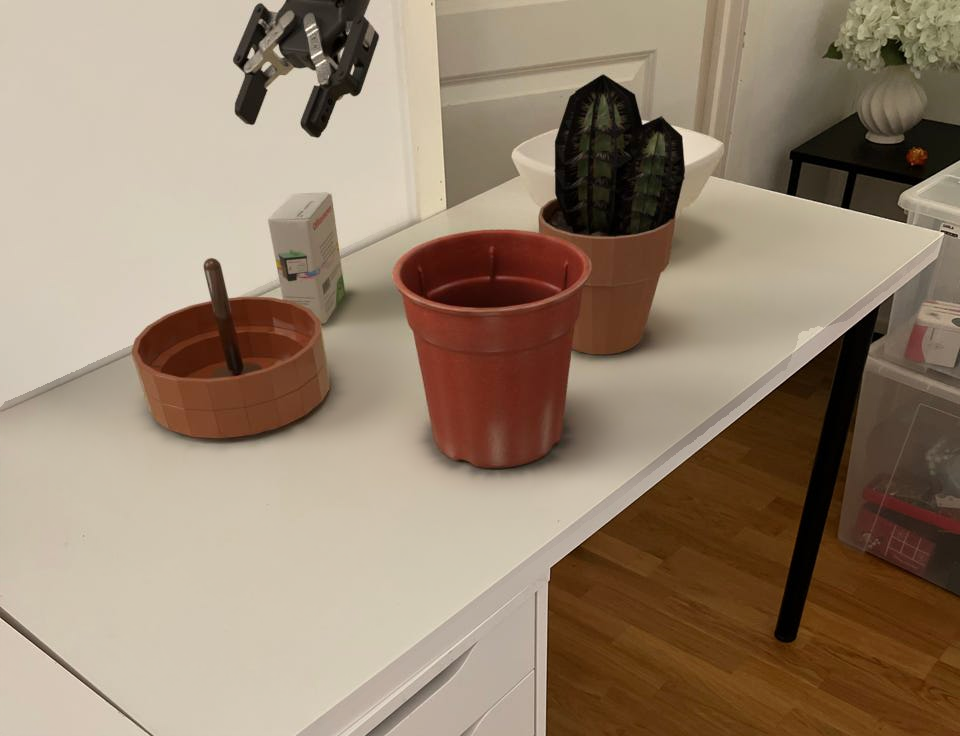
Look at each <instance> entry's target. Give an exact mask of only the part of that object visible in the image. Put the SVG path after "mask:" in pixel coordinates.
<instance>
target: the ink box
mask: <svg viewBox="0 0 960 736" xmlns="http://www.w3.org/2000/svg"><path fill="white" fill-rule="evenodd" d="M334 209H335V208H334V202H333V195H332V193H329V192H305V193H304V192H303V193H291V194H290V195H289V196H288V197H287V199H286V200H285V201H284V202H283V203H282V204H281V205H280V206H279V207H278V208H277V209H276V210H275V211H274V212H273V213H272V214H271V215H270V216H269V217H268V219H267V223H268V227H269V228H268V229H269V233H270V240H271V244H272V249H273V254H274V259H275V264H276V270H277V276H278V281H279V285H280V291H281V296H282V300H287V301H292V302H295V303H298V304H300V305H302V306H304V307H306V308H308V309H310V310H312V312H313V313H314V314H315V315H316V316H317V317H318V318H319V319H320V321H321V324H326V323H327V321H328V320H329V319H330V317H331V316H332V314H333V312H334V311H335V309H336V308H337V307H338V305H339V303H340V302H341V300H342V299H343V297H344V296H345V294H346V287H345V281H344V274H343V266H342V260H341V259H342V258H341V254H340V253H341V252H340V245H339V237H338V231H337V223H336V215H335V210H334Z"/></svg>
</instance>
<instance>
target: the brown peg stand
mask: <svg viewBox="0 0 960 736" xmlns="http://www.w3.org/2000/svg"><path fill="white" fill-rule="evenodd" d="M202 268H203V271H204V272H203V273H204V276H205V280H206V284H207V289H208V292H209V296H210V301H212V305H213V310H214V314H215V318H216V322H217V326H218V331H219V335H220V339H221V343H222V347H223V352H224V356H225V360H226V364H227V365H225V366H222V367H220V368H218V369H217V370H216V371H214V372H213V374H212V376H211V379H212V378H221V377H231V376H239V375H242V374H246V373H250V372H254V371H258V370H262V367H261V366H259V365H257V364H255V363H250V362H243V361H242V357H241V352H240V348H239V343H238V339H237V335H236V330H235V326H234V321H233V317H232V312H231V308H230V304H229V299H228V298H229V296H228V291H227V286H226V282H225V277H224V274H223V268H222V265H221V263H220V261H219V260H218V259H216V258H214V257H210V258H207V259H206V260H205V261H204V262H203V267H202Z"/></svg>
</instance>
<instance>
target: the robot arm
mask: <svg viewBox="0 0 960 736" xmlns="http://www.w3.org/2000/svg"><path fill="white" fill-rule="evenodd" d="M370 2H371V0H285V1H284V3H283V5H282V6H281V7H280V8H279V10H278V12H276V11H271V10H269V9H268V8H267V6H265V4H263V3H262V2H259V3H257V4H256V5H255V6H254V8H253V10H252V12H251V15H250V17H249V19H248V23H247V24H246V27H245V30H244V32H243V34H242V36H241V39H240V41H239V43H238V46H237V48H236V51H235V52H234V55H233V58H232V62H233V64H234V65H235V66H236V67H237V68H238V69H240V70H241V72H242V73H244V77H243V81H242V83H241V86H240V89H239V91H238V94H237V97H236V100H235V102H234V114H235V116H237V118H238V119H239V120H240V121H242V122H243V123H244V124H245V125H250V126H254V125H255V124H256V122H257V119H258V117H259V114H260V111H261V108H262V106H263V103H264V101H265V98H266V97H267V92H268V87H269V86H270V85H271V84H272V83H273V82H274V81H275V80H276V79H277V78H279V76H286V75H288V74H289V73H290V72H291V71H292V70H294V69H299V70H300V69H306V68H307V69H310V70H311V71H314V72H315V73H316V77H317V82H318V84H319V85H315V84H314V85H313V88H312V90H311V93H310V95H309V97H308V100H307V104H306V105H305V107H304V108H305V109H304V111H303V113H302V117H301V118H300V127H301V129H302V130H304V131H305V133H307V135H309V136H310V137H312V138H316V139H319V138H320V137H321V135H322V133H324V131H325V130H326V129H327V127H328V124H329V122H330V119H331V117H332V114H333V112H334V108H335V107H336V104H337V102H338V101H340V100H342V99H343V97H344V96H346V95H351V96H352V97H358V96H359V95H360V94H361V93H362V89H363V87H364V83H365V80H366V78H367V75H368V72H369V70H370V66H371V63H372V60H373V58H374V55H375V52H376V48H377V46H378V42H379V40H380V35H379V33H378V32H377V30H376V29H375V28H374V26H373V25H372V24H371V22H370V21H369V20H368V19H367V18H366V17H365V15H366V12H367V10H368V7H369V5H370ZM277 46H278V49H279V52H280V54H281V56H282V57H280V56H279V55H278V54H277V53H276V52H275V51H274V49H275V48H276V47H277ZM251 50H253V52H254V53H253V55H252V56H251V57H250V58H249V54H250V52H251ZM341 51H342V53H341ZM266 63H270V65H269V66H268V67H267V68H266V69H265V70H264V71H263V69H262V68H263V67H264V65H265V64H266ZM352 70H353V72H352ZM351 72H352V74H351Z"/></svg>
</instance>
